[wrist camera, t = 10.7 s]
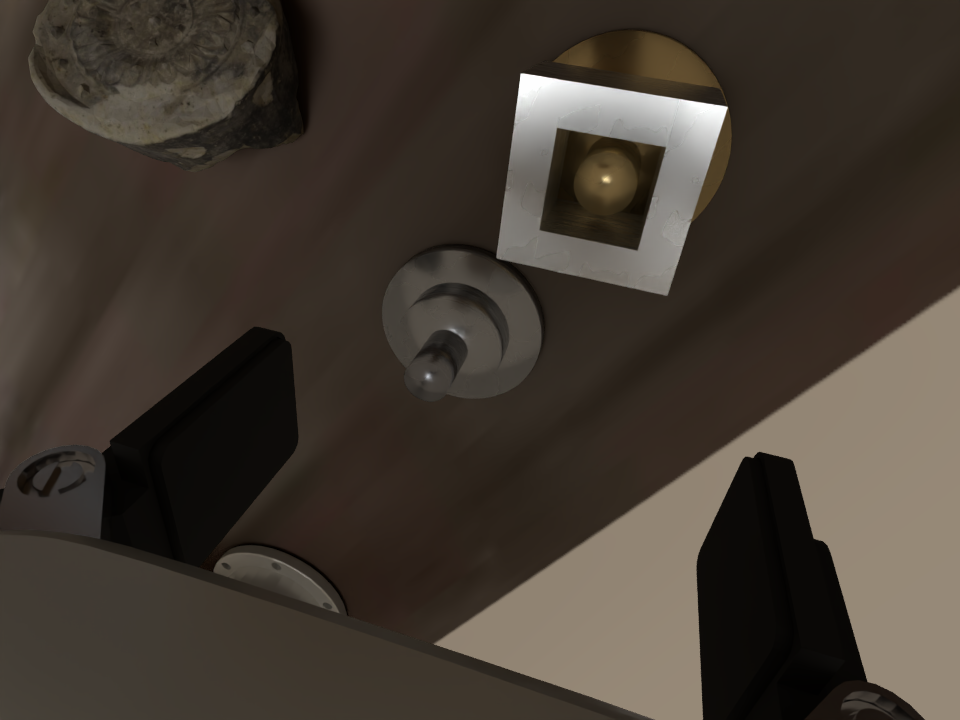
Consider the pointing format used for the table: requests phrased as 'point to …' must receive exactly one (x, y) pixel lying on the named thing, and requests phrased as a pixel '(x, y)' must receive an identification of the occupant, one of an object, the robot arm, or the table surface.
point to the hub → (627, 164)
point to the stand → (462, 323)
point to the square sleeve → (617, 114)
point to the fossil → (171, 74)
